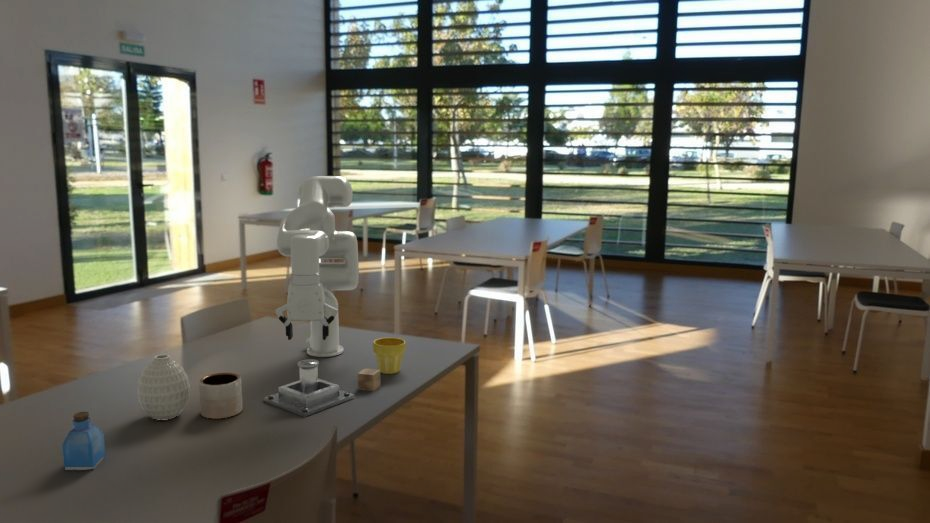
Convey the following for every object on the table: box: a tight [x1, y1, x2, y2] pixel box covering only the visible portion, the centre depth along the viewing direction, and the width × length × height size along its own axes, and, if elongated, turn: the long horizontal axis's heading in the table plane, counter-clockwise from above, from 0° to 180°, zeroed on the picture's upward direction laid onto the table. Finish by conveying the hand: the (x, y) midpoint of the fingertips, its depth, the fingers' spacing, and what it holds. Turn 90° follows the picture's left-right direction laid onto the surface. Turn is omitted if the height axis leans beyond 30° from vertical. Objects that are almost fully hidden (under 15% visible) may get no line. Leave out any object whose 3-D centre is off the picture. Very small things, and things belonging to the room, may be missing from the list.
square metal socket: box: [262, 378, 355, 418], centre depth 198 cm, size 18×18×4 cm
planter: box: [198, 372, 244, 420], centre depth 188 cm, size 11×11×10 cm
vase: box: [136, 353, 191, 420], centre depth 184 cm, size 13×13×17 cm
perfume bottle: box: [61, 411, 106, 468], centre depth 157 cm, size 6×6×12 cm
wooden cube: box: [357, 368, 381, 392], centre depth 208 cm, size 5×5×5 cm
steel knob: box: [297, 358, 320, 394], centre depth 197 cm, size 6×6×10 cm
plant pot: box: [372, 336, 407, 375], centre depth 223 cm, size 10×10×10 cm
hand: (307, 338), depth 196 cm, fingers open, 9 cm apart
